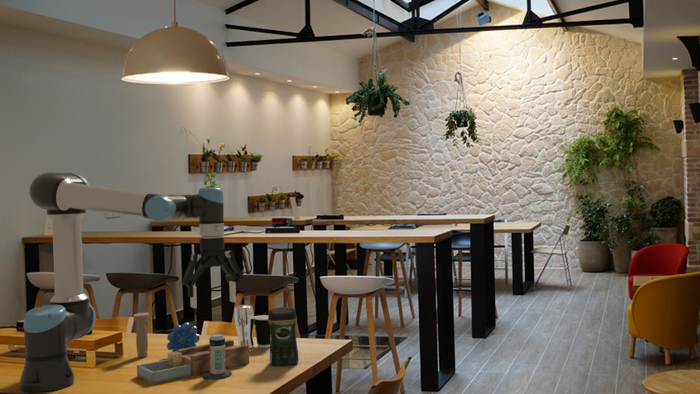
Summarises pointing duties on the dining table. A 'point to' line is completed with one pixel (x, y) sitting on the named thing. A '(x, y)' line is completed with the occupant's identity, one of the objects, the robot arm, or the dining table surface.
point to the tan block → (175, 357)
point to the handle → (141, 334)
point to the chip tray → (161, 372)
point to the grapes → (182, 337)
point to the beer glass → (244, 324)
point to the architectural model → (75, 351)
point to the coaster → (210, 376)
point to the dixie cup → (262, 331)
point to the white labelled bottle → (217, 354)
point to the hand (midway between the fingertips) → (213, 304)
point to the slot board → (206, 362)
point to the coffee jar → (283, 336)
